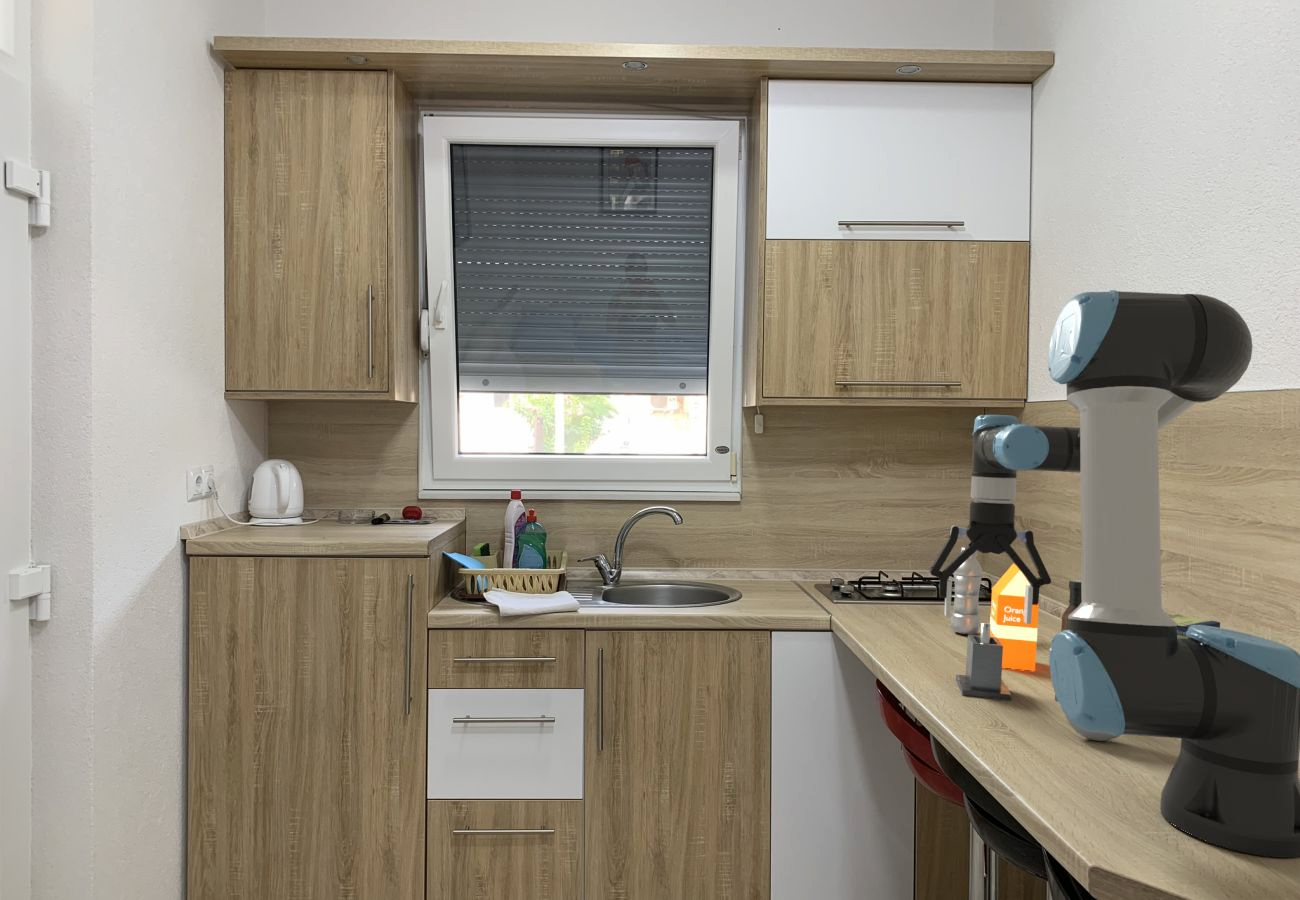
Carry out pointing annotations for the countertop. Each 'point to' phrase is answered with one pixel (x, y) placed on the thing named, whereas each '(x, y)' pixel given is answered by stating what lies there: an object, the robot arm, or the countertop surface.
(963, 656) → the countertop surface
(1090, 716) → the robot arm
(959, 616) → the plastic bottle
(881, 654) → the countertop surface
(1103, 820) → the countertop surface
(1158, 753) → the countertop surface
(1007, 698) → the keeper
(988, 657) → the grey rectangular holder
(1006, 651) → the orange juice
